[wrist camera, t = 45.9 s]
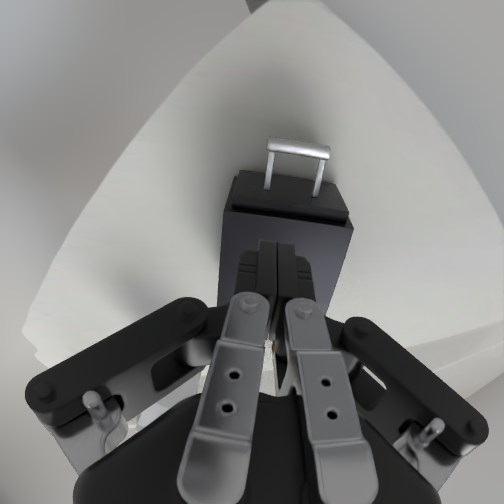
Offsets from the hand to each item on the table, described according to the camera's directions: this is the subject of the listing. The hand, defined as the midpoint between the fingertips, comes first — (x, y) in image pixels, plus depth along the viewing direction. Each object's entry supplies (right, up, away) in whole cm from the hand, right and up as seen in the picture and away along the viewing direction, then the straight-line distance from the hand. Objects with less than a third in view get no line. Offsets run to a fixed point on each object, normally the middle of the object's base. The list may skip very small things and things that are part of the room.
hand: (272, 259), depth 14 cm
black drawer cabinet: (+2, +3, +28) cm, 28 cm away
